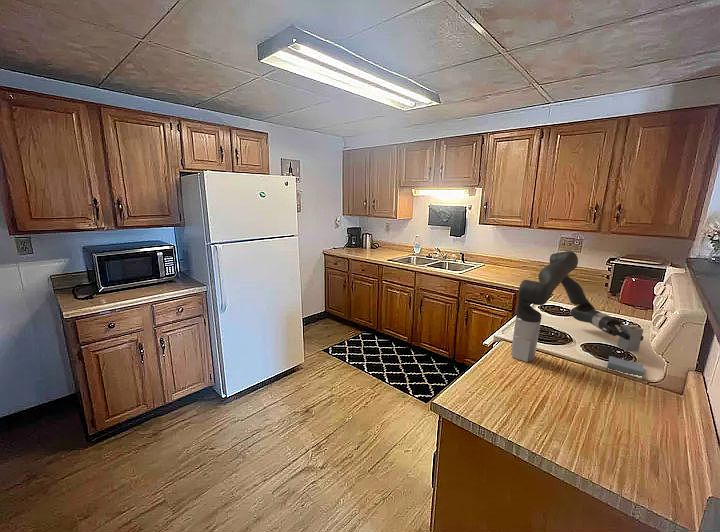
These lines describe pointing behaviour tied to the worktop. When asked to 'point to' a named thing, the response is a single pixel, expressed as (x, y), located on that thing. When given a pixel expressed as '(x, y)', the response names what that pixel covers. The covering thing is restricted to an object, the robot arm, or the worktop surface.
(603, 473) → the worktop surface
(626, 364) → the coupler plate
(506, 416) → the worktop surface
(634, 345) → the block
